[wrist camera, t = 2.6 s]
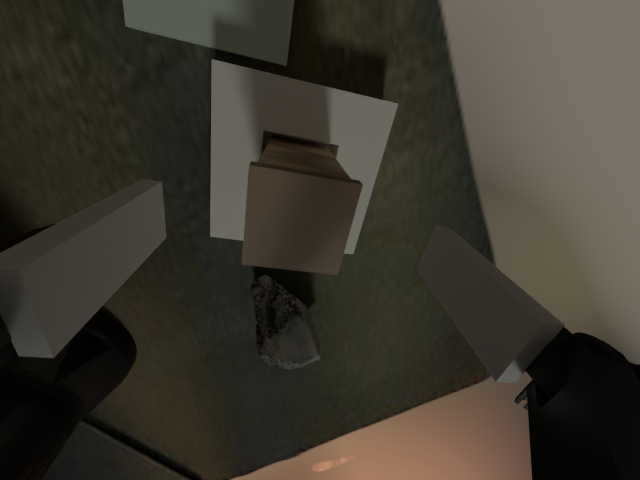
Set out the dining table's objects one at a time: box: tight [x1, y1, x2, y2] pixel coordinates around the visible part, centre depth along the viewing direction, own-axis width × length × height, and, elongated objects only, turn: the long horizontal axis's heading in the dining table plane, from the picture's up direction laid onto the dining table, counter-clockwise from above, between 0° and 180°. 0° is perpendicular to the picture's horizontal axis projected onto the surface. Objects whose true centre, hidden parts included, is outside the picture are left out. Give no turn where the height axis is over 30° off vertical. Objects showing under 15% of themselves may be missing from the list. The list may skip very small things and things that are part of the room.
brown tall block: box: [242, 135, 363, 275], centre depth 19 cm, size 5×5×14 cm
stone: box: [251, 275, 321, 369], centre depth 31 cm, size 10×10×10 cm
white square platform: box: [210, 59, 398, 254], centre depth 24 cm, size 14×14×4 cm
